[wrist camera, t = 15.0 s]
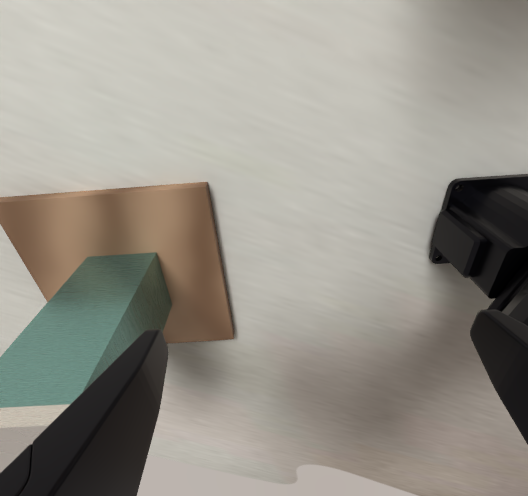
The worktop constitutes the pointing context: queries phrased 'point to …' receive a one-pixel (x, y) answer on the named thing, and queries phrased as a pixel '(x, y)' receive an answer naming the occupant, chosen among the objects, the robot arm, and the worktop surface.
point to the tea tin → (76, 342)
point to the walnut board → (130, 245)
